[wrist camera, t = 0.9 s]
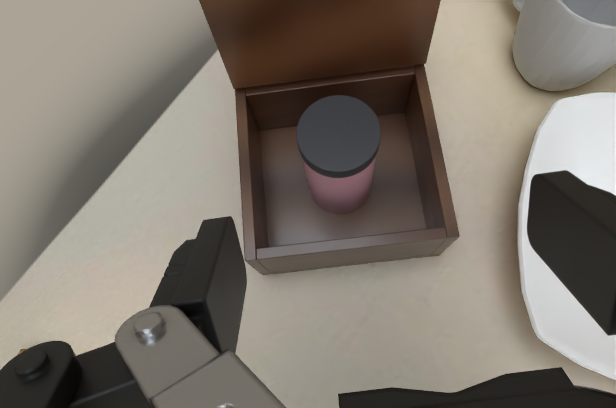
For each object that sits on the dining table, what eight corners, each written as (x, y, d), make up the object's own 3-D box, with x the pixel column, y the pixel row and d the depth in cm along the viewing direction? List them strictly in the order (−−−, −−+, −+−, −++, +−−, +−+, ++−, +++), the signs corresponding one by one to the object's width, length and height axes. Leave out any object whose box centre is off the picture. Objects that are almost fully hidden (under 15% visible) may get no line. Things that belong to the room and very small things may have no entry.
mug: (624, 75, 40) (712, -9, 30) (539, 121, 39) (602, 50, 30) (535, -22, 44) (589, -125, 34) (456, 18, 43) (488, -74, 33)
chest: (439, 255, 36) (459, 236, 30) (262, 275, 37) (244, 261, 31) (411, 107, 40) (423, 63, 34) (252, 127, 41) (235, 88, 35)
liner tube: (300, 206, 38) (285, 160, 28) (318, 149, 39) (309, 87, 30) (363, 222, 37) (369, 180, 27) (378, 163, 38) (389, 104, 29)
